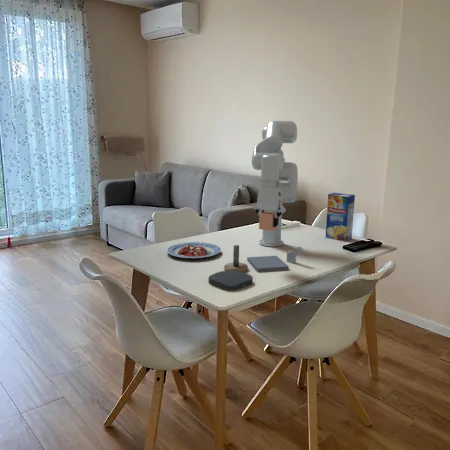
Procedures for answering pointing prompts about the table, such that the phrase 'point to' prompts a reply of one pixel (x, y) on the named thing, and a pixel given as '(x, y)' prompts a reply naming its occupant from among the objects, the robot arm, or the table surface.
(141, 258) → the table surface
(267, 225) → the peach cube block
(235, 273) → the media streaming box
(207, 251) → the ceramic plate
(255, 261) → the mat
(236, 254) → the round pedestal stand
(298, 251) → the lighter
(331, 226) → the juice carton
